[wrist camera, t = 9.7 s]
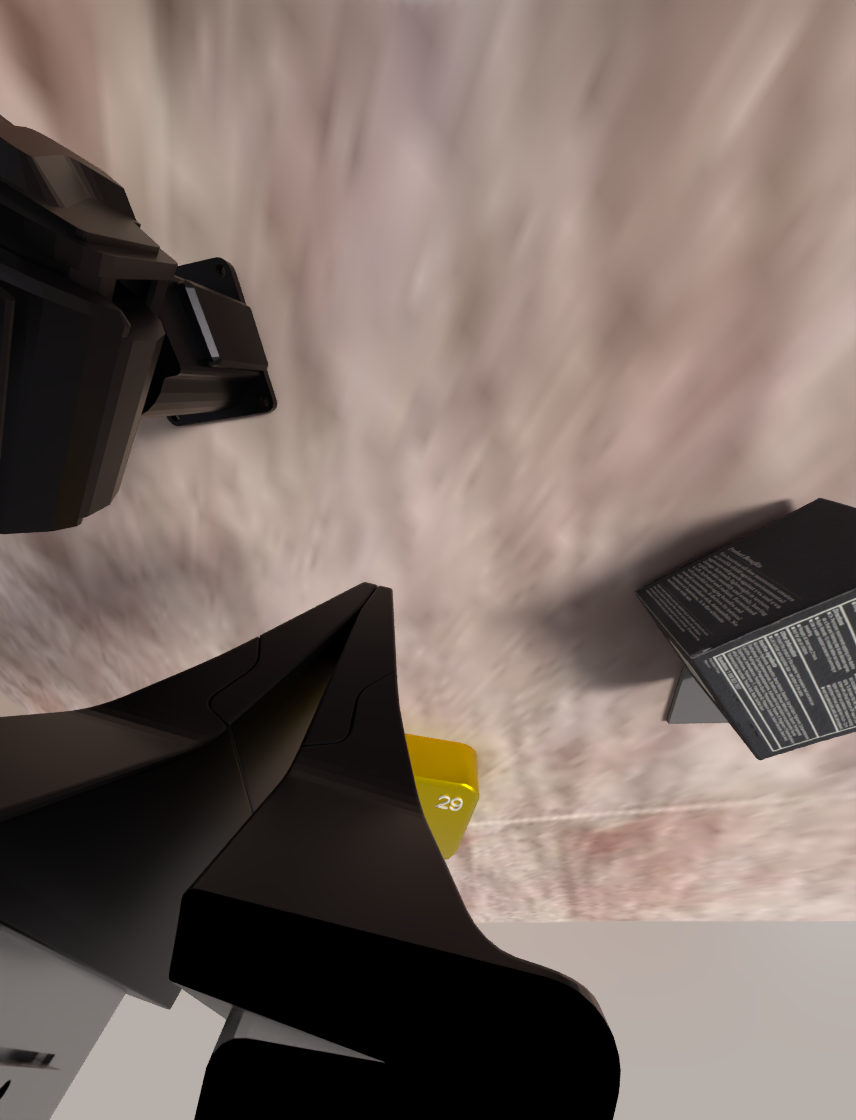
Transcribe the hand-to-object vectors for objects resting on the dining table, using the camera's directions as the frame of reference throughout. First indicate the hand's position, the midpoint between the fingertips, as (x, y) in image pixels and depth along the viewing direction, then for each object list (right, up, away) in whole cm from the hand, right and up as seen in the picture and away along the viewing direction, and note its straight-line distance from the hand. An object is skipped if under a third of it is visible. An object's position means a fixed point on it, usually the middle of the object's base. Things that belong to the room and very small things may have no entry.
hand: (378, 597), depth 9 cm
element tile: (-2, -22, +26) cm, 34 cm away
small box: (+18, -6, +11) cm, 22 cm away
